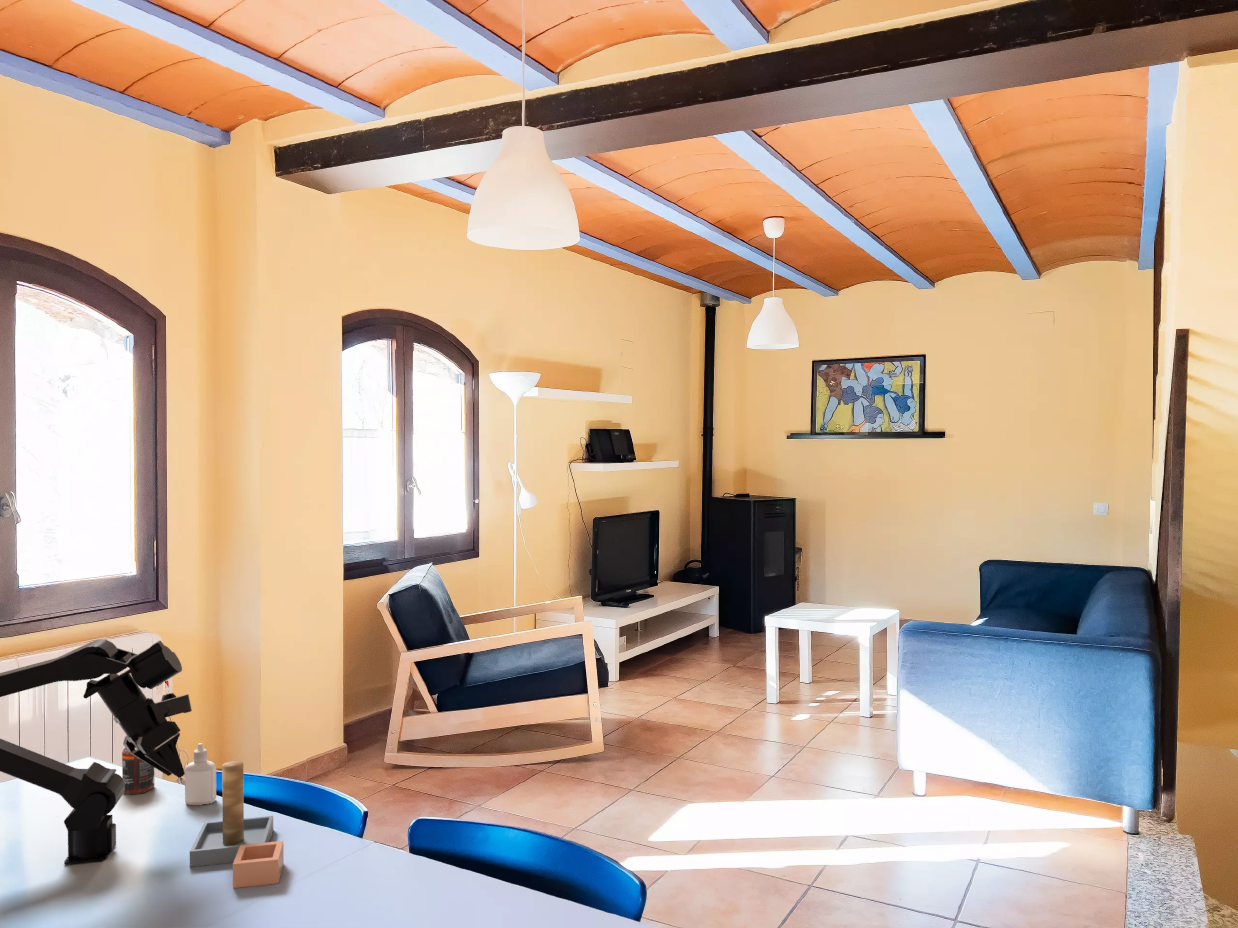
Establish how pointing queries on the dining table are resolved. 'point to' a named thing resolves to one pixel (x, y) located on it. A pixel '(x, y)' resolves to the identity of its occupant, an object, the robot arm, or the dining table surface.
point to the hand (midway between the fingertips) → (176, 774)
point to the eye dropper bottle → (200, 779)
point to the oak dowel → (233, 802)
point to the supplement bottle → (136, 774)
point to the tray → (215, 852)
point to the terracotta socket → (258, 864)
